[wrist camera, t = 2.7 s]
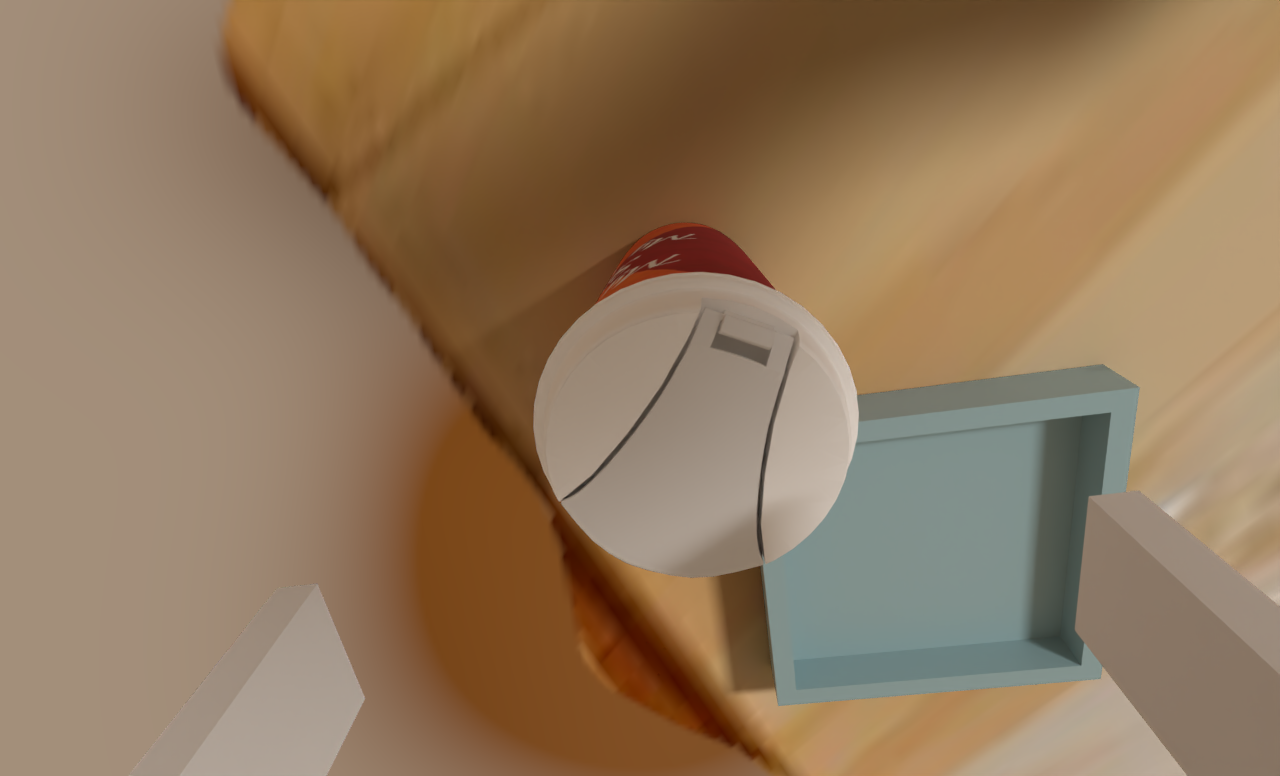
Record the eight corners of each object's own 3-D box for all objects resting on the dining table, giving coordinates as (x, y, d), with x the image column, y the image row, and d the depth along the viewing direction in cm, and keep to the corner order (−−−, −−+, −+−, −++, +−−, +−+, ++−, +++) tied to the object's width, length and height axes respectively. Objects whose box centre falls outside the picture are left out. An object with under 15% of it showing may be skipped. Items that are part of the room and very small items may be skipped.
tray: (742, 410, 32) (748, 435, 30) (1102, 364, 31) (1139, 387, 28) (771, 667, 38) (778, 705, 36) (1072, 640, 37) (1100, 679, 34)
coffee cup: (623, 165, 28) (578, 235, 14) (809, 231, 29) (939, 358, 15) (566, 348, 31) (485, 548, 17) (735, 403, 32) (785, 637, 18)
